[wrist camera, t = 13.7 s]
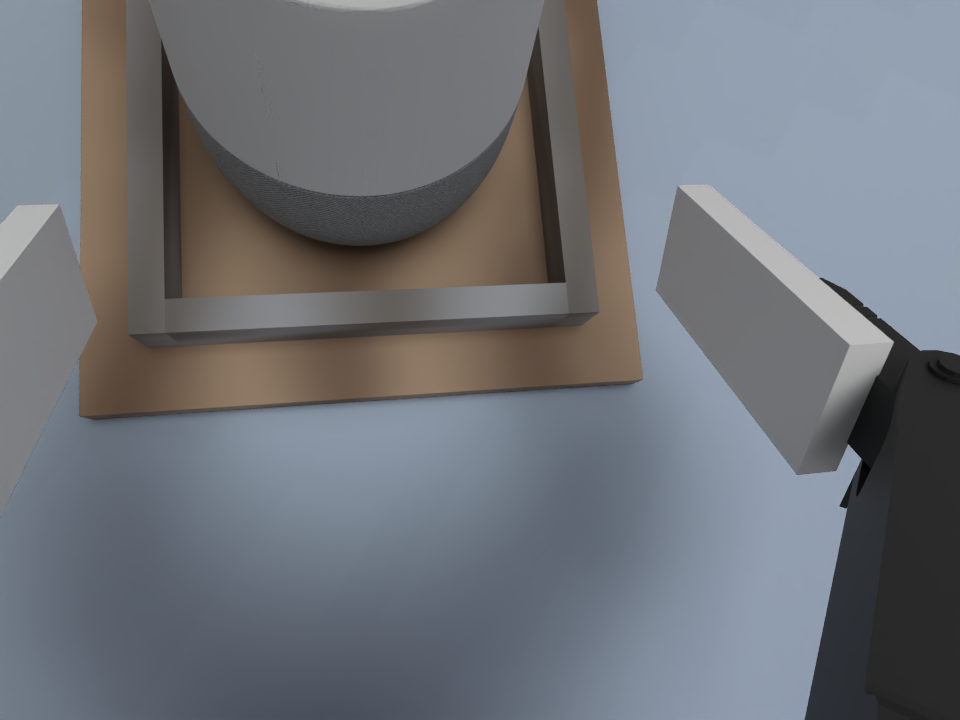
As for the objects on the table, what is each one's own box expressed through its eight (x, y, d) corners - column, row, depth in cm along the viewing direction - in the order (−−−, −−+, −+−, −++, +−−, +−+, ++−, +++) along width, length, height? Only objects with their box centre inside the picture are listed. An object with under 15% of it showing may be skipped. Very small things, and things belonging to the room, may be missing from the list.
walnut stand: (91, 419, 22) (50, 409, 19) (93, -85, 25) (57, -159, 22) (632, 383, 25) (666, 370, 22) (579, -64, 28) (603, -127, 25)
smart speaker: (218, 276, 23) (-8, -36, 9) (206, 15, 24) (-5, -594, 10) (506, 261, 24) (684, -24, 11) (479, 17, 26) (605, -509, 12)
